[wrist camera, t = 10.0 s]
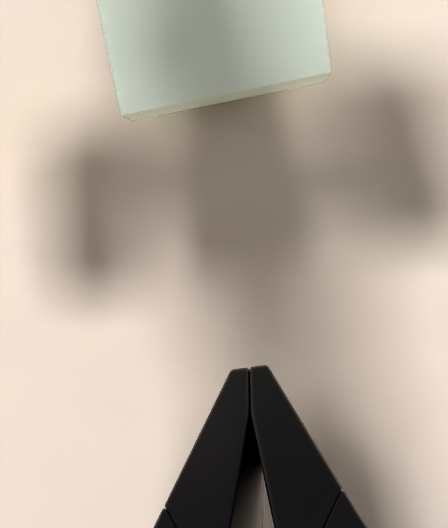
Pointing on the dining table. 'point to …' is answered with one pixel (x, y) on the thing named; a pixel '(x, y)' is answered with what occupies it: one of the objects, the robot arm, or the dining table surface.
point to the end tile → (210, 51)
